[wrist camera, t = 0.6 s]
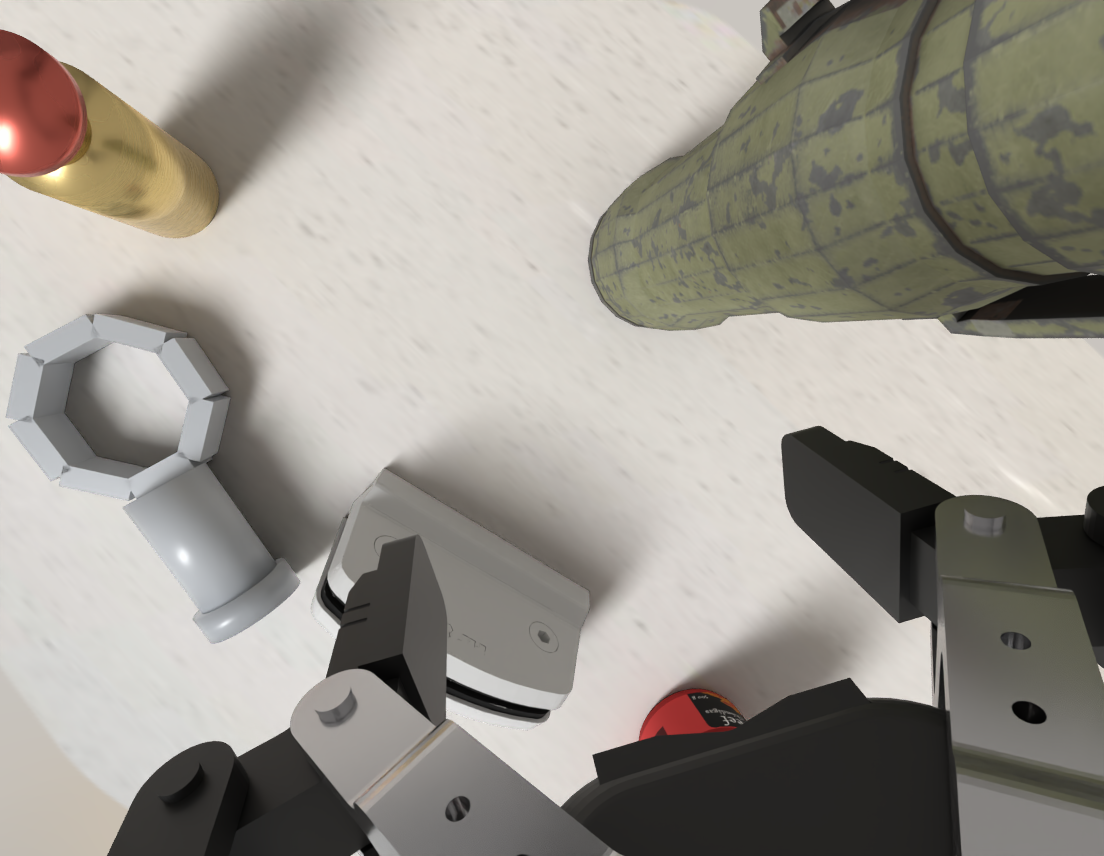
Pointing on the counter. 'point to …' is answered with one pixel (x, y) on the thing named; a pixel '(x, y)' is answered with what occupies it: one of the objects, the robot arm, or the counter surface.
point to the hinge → (469, 603)
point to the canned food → (691, 714)
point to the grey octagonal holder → (156, 470)
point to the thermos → (885, 178)
